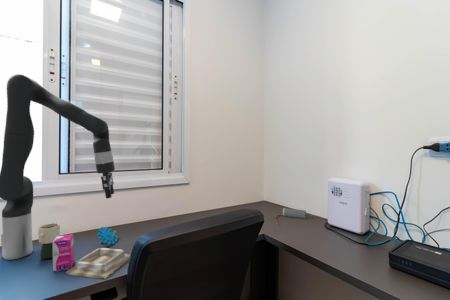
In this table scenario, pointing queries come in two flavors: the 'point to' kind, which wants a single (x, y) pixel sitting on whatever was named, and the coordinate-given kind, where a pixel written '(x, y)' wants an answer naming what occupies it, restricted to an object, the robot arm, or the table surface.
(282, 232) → the table surface
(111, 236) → the gear
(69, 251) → the supplement box
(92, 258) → the plate
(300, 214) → the motor
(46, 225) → the character mug
